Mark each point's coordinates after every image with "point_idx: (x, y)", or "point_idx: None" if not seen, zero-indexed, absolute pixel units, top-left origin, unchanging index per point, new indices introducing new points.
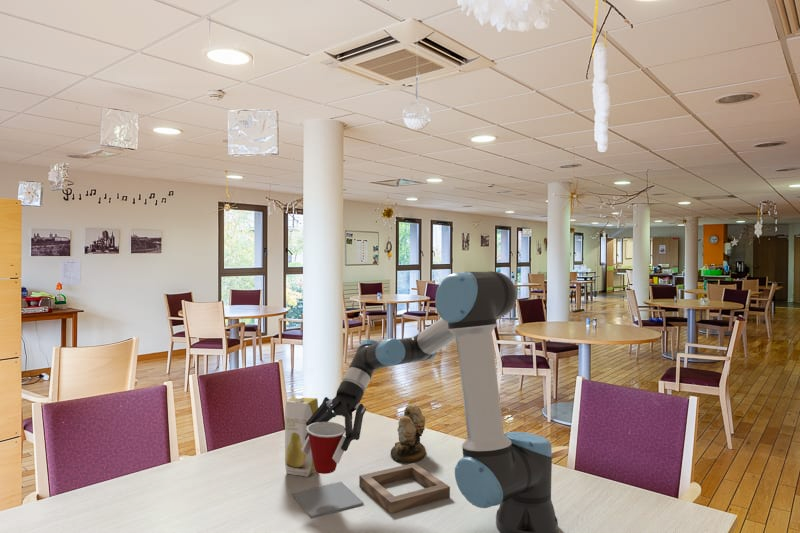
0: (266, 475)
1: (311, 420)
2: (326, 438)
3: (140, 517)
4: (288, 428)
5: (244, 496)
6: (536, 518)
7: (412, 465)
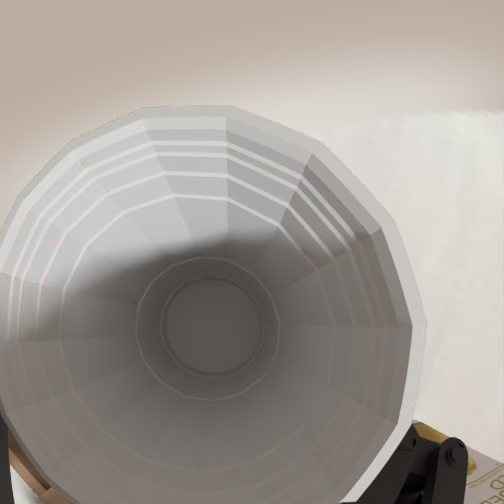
0: (451, 383)
1: (437, 493)
2: (91, 162)
3: (501, 136)
4: (502, 466)
5: (441, 252)
6: None
7: (51, 500)
